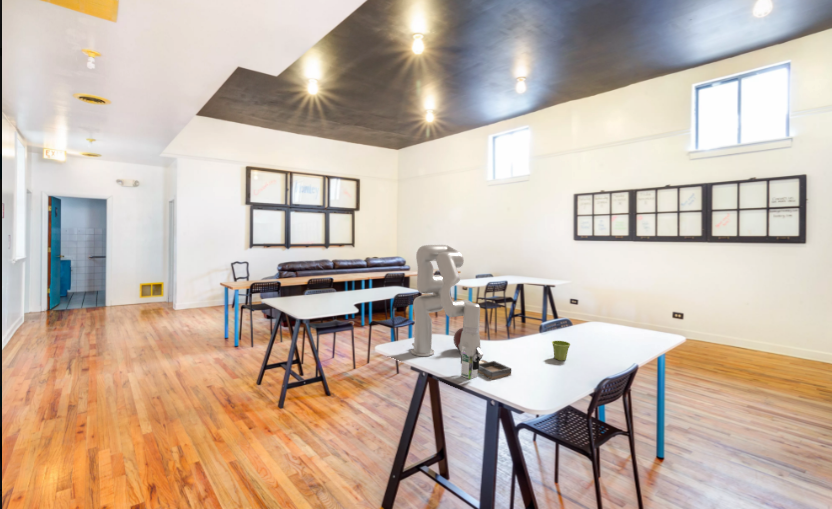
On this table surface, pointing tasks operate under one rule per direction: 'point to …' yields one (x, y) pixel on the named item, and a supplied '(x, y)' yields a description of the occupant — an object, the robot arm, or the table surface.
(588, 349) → the table surface
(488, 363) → the brown compartment tray
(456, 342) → the round-bottom flask
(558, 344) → the plant pot
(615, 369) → the table surface
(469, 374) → the syrup box
